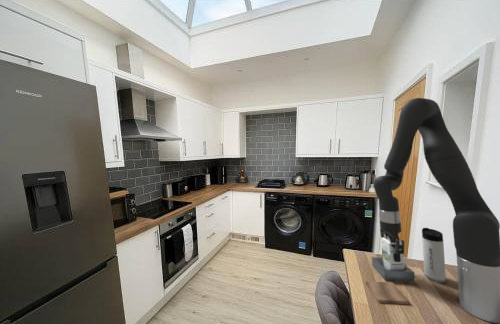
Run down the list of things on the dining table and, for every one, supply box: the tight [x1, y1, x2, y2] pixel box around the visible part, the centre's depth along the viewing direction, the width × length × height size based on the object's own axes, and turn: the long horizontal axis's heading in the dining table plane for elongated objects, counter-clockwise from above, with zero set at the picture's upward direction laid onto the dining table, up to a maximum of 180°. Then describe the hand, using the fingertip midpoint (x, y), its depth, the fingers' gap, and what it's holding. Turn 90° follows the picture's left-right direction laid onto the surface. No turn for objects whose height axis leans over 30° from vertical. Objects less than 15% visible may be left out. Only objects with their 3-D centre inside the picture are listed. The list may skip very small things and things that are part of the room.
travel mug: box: [421, 227, 447, 283], centre depth 76 cm, size 6×7×20 cm
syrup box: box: [380, 237, 405, 270], centre depth 80 cm, size 6×6×14 cm
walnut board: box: [365, 280, 411, 305], centre depth 69 cm, size 10×10×1 cm
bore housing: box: [371, 256, 416, 283], centre depth 80 cm, size 11×11×4 cm
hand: (392, 257), depth 80 cm, fingers closed on syrup box, 6 cm apart
